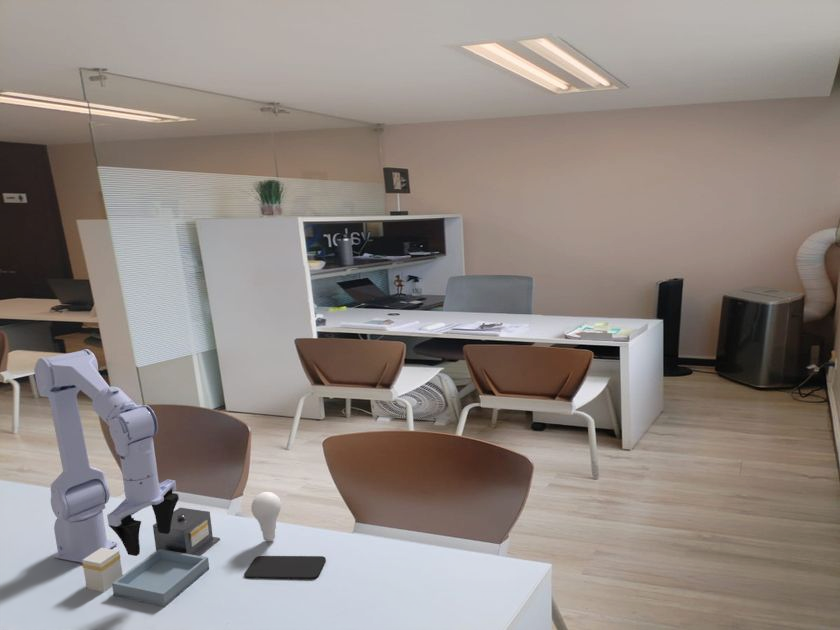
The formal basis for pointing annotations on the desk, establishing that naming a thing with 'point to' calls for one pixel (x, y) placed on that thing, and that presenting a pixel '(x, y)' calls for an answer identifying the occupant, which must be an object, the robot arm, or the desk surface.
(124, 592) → the tray
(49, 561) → the desk surface
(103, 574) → the part block
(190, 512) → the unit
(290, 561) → the phone
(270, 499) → the lightbulb
